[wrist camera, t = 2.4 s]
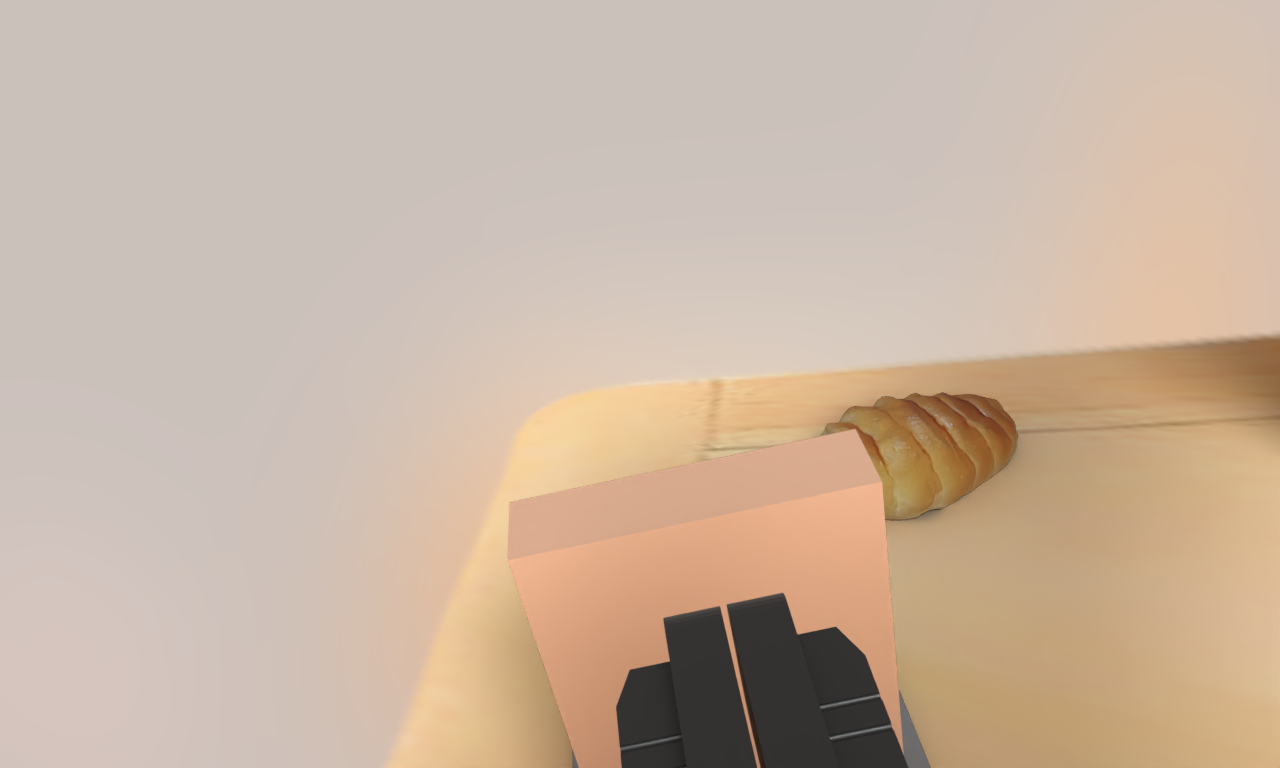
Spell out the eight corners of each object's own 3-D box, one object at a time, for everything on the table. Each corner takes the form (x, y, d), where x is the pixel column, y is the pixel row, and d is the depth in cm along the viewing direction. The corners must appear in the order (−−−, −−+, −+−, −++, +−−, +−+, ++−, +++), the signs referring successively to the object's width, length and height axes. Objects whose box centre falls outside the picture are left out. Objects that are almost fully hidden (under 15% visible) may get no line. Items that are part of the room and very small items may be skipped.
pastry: (965, 406, 53) (964, 344, 51) (1053, 473, 47) (1055, 406, 45) (806, 468, 51) (798, 406, 49) (877, 546, 45) (872, 480, 43)
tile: (883, 744, 36) (853, 425, 29) (908, 810, 34) (882, 481, 26) (608, 801, 36) (509, 497, 29) (614, 871, 34) (508, 560, 27)
